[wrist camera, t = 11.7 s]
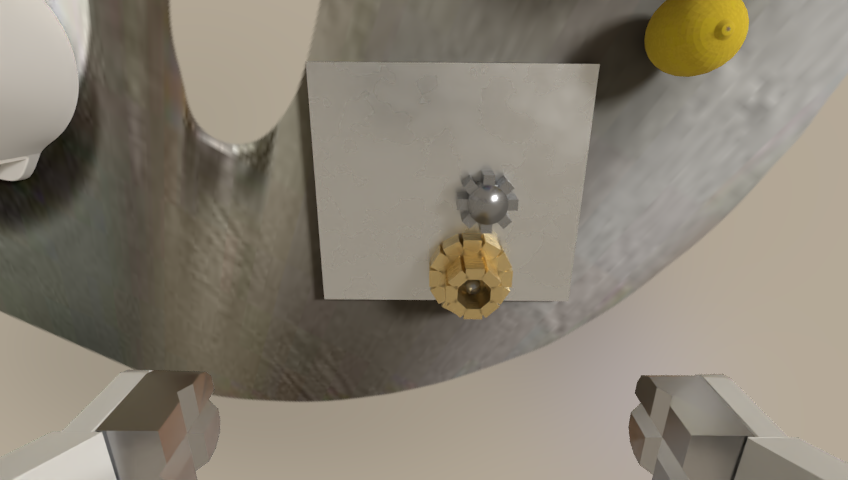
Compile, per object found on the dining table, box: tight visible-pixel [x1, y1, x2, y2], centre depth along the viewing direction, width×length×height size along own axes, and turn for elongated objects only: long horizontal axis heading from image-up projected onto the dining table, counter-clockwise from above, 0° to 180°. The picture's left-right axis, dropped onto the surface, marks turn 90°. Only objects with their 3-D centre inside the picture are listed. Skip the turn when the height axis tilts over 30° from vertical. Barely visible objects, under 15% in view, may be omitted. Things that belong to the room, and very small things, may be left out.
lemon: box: [644, 0, 749, 77], centre depth 31 cm, size 6×6×8 cm
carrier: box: [306, 62, 600, 301], centre depth 37 cm, size 22×20×5 cm
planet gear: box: [429, 233, 513, 319], centre depth 39 cm, size 7×7×5 cm
